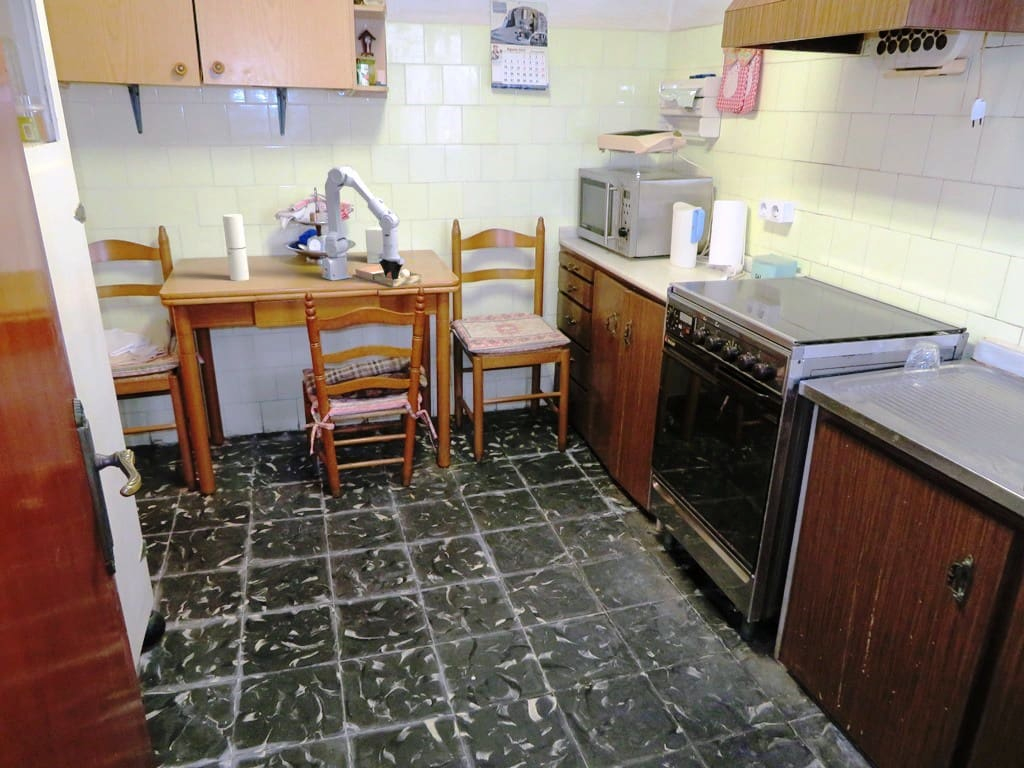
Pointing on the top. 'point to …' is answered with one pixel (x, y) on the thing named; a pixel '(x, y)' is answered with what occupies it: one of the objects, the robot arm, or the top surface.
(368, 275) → the peach open box
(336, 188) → the robot arm
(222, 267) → the top surface
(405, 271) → the cream ball
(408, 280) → the box
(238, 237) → the cylindrical container
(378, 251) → the supplement box
